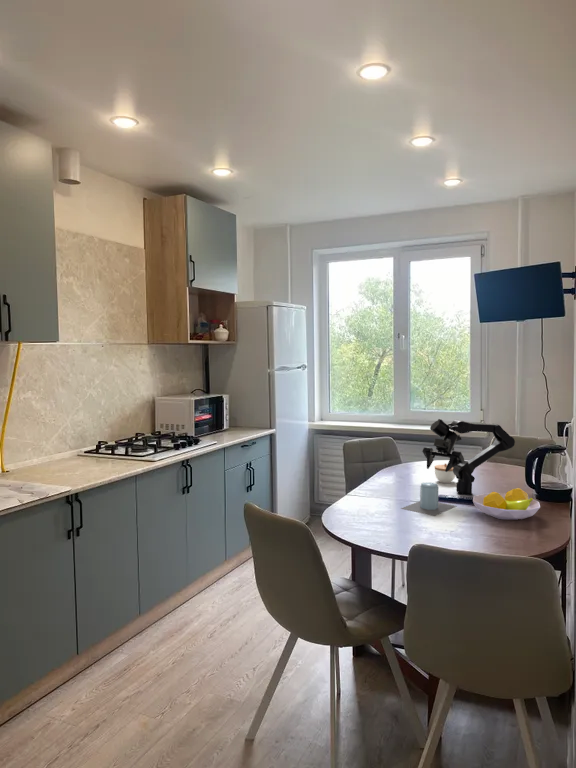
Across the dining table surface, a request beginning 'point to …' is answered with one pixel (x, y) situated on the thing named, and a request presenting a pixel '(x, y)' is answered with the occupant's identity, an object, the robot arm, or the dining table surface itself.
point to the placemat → (439, 510)
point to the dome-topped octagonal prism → (429, 496)
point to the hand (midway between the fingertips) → (436, 469)
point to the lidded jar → (444, 474)
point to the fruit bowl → (507, 504)
